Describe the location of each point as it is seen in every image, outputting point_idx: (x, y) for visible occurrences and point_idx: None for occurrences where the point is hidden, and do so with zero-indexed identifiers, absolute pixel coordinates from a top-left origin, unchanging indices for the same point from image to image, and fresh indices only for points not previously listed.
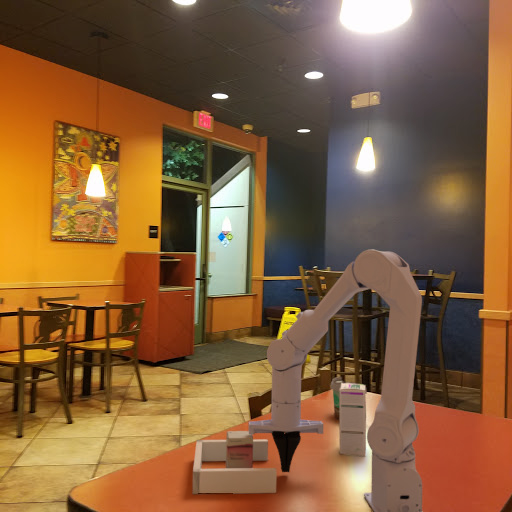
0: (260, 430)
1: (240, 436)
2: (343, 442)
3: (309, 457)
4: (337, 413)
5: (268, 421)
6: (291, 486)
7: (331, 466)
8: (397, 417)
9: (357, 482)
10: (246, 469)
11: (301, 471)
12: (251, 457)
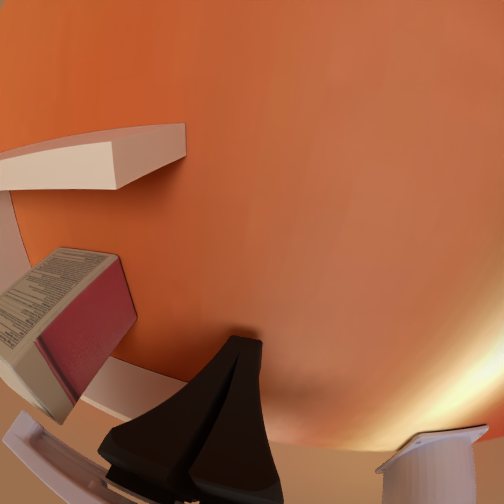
0: (67, 458)
1: (22, 396)
2: None
3: (452, 143)
4: None
5: (62, 488)
6: (260, 387)
7: (487, 280)
8: None
9: (463, 388)
10: (114, 413)
11: (338, 309)
12: (97, 368)
